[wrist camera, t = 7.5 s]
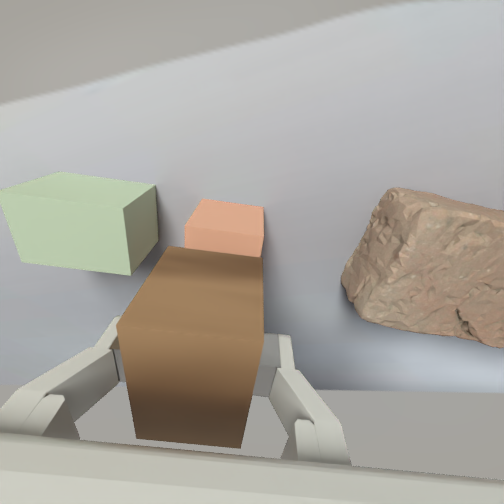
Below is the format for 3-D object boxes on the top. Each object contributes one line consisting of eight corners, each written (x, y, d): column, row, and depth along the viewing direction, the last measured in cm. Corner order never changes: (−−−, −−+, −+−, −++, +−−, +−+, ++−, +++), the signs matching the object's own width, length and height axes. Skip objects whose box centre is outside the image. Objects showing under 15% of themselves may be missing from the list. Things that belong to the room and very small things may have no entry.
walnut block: (168, 245, 11) (115, 325, 7) (262, 257, 11) (264, 342, 7) (171, 343, 14) (136, 438, 10) (245, 352, 14) (240, 448, 10)
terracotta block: (202, 198, 17) (184, 225, 13) (263, 206, 17) (264, 236, 13) (199, 273, 20) (184, 314, 16) (251, 280, 20) (248, 322, 16)
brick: (335, 285, 20) (355, 331, 16) (384, 179, 16) (427, 204, 12) (524, 321, 21) (587, 372, 17) (614, 231, 17) (725, 270, 13)
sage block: (155, 184, 16) (122, 208, 12) (159, 239, 18) (131, 275, 14) (60, 171, 16) (-4, 191, 12) (73, 228, 18) (21, 262, 14)
